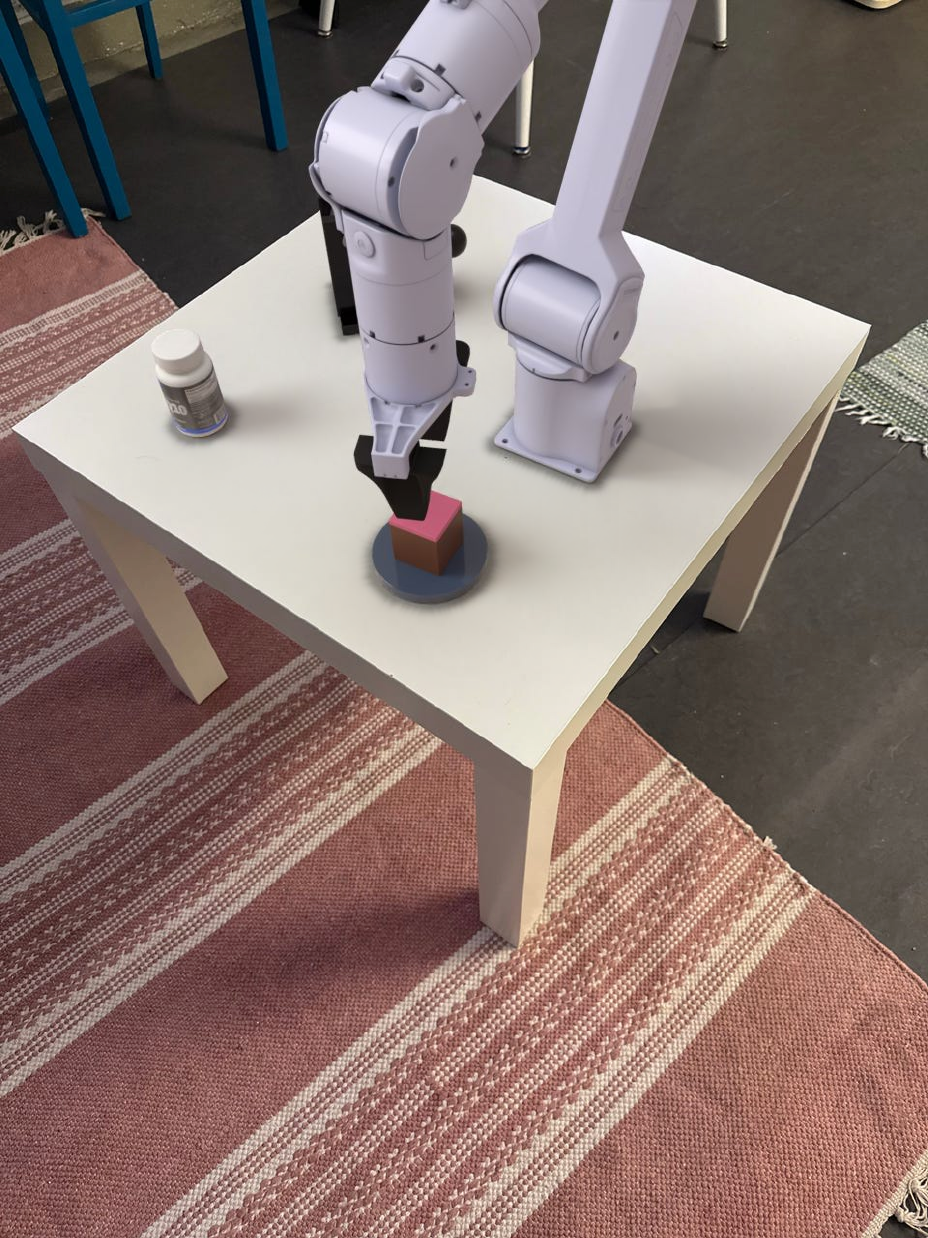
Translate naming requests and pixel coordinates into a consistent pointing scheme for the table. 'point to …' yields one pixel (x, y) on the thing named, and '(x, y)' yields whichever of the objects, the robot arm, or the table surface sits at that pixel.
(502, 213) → the table surface
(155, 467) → the table surface
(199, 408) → the pill bottle
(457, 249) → the lever
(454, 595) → the plate
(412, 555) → the cake slice
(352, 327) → the bracket
